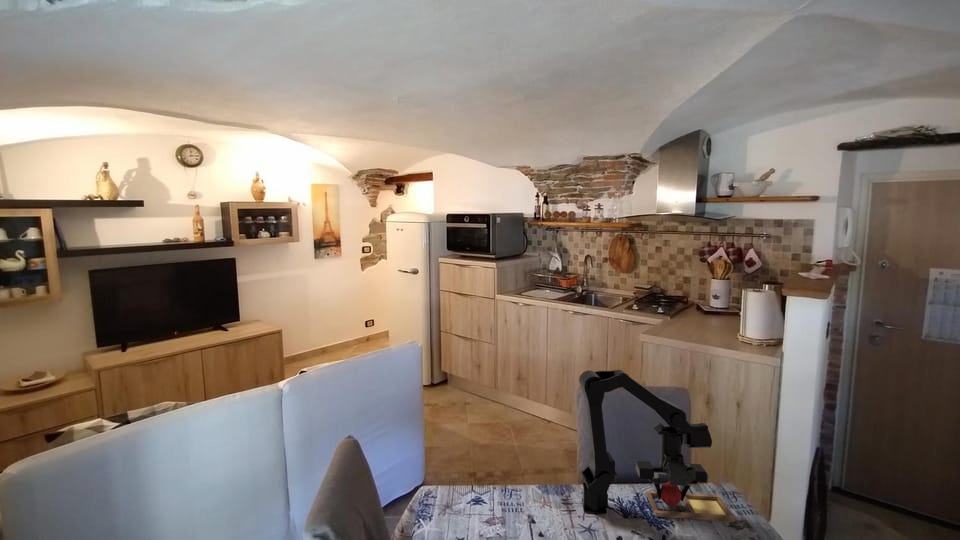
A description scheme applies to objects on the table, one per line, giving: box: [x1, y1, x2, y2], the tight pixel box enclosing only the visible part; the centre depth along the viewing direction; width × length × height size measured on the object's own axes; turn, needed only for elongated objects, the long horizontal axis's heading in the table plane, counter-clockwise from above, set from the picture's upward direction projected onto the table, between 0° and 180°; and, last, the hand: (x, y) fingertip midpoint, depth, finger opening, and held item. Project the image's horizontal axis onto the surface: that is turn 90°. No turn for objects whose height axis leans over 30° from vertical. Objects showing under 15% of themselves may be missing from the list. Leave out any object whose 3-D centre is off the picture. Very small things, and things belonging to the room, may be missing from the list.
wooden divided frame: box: [645, 490, 736, 523], centre depth 132 cm, size 21×11×1 cm, turn 83°
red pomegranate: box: [660, 481, 681, 507], centre depth 132 cm, size 6×6×8 cm
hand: (670, 499), depth 132 cm, fingers closed on red pomegranate, 6 cm apart
